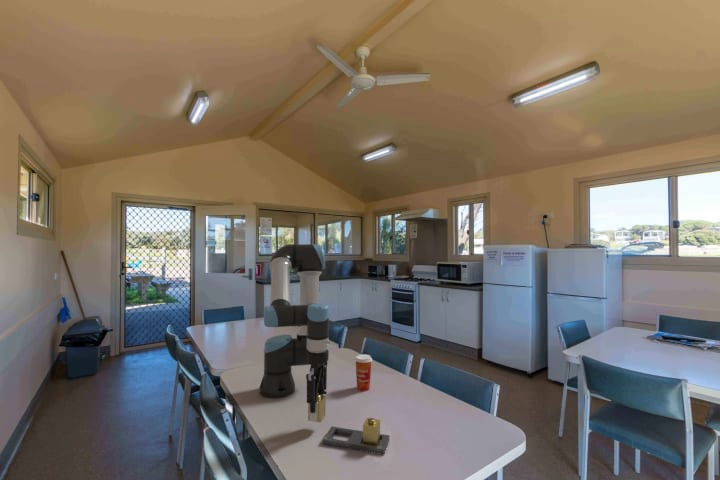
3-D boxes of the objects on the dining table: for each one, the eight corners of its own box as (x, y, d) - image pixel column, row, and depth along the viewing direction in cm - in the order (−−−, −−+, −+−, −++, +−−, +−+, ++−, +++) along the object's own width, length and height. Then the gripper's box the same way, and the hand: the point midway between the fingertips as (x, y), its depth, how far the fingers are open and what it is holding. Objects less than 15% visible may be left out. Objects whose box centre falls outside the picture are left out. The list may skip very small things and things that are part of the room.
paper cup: (351, 389, 149) (351, 357, 149) (359, 383, 156) (359, 353, 156) (367, 393, 145) (367, 360, 146) (375, 387, 152) (375, 355, 152)
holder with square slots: (322, 444, 107) (323, 419, 108) (331, 431, 115) (331, 407, 115) (384, 454, 102) (384, 428, 102) (389, 440, 110) (389, 416, 110)
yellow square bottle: (308, 420, 115) (308, 397, 115) (313, 413, 119) (313, 391, 119) (320, 422, 113) (320, 399, 113) (325, 415, 118) (325, 393, 118)
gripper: (317, 359, 107) (316, 432, 107) (336, 343, 124) (335, 406, 124) (296, 356, 109) (295, 428, 109) (317, 341, 126) (316, 403, 126)
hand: (316, 416), depth 116 cm, fingers closed on yellow square bottle, 4 cm apart
